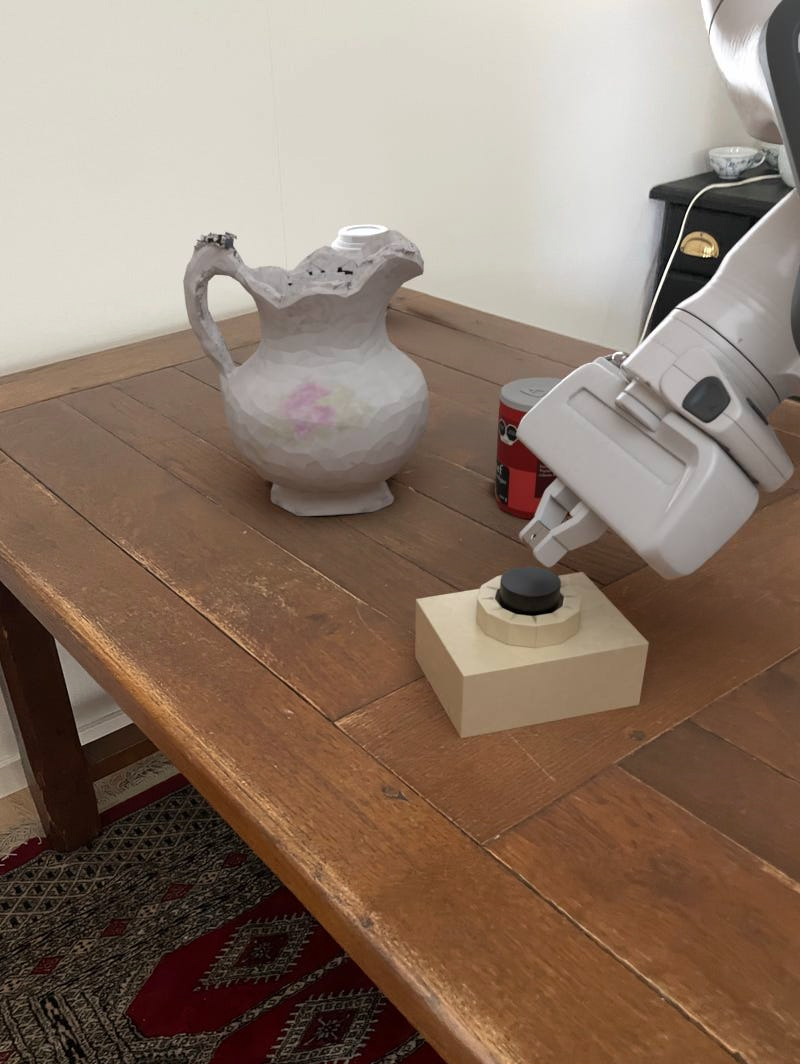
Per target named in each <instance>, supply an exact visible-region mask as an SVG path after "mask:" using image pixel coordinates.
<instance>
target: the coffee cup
mask: <svg viewBox="0 0 800 1064" xmlns="http://www.w3.org/2000/svg"><path fill="white" fill-rule="evenodd" d="M388 230H389V229H388V228H387V227H386V226H383V225H379V224H356V225H349V226H345V227H342V228H341V229H339V230H338V237H336V238H335V240H334V241H333V242H332V243H331V247H332V248H333V249H335V250H336V251H338V252H347V253H353V254H356V253H357V252H358V251H359V250H360V249H361V248H362V247H363V246H364V245H365V243H366V242H367V241H368V240H369V239H370V238H371V237H372V236H373V235H375V234H377V233H381V232H385V231H388ZM387 315H388V308H387V309H386V311H385V318H386V317H387Z"/></svg>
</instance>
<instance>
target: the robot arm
mask: <svg viewBox="0 0 800 1064" xmlns="http://www.w3.org/2000/svg"><path fill="white" fill-rule="evenodd" d="M700 5H701V11H702V17H703V23H704V28H705V31H706V32H705V33H706V37H707V42H708V45H709V49H710V53H711V57H712V59H713V60H712V61H713V63H714V67H715V70H716V73H717V75H718V79H719V81H720V84H721V86H722V88H723V91H724V93H725V96H726V98H727V100H728V102H729V104H730V106H731V108H732V110H733V111H734V113H735V115H736V117H737V119H738V120H739V123H740V124H741V126H742V128H743V129H744V130H745V132H746V134H747V135H748V136H749V137H751V138H754V139H755V140H758V141H761V142H763V143H767V144H773V145H781V146H783V147H784V150H785V155H786V157H787V161H788V164H789V169H790V172H791V176H792V178H793V182H794V186H795V187H794V188H793V189H792V190H791V191H790V192H788V193H787V194H786V195H785V196H783V197H782V198H781V199H780V200H779V201H778V202H777V203H776V204H775V205H773V207H771V209H769V210H768V212H766V213H765V214H764V215H763V216H762V217H760V219H759V220H758V221H757V222H756V223H755V224H753V226H752V227H751V228H750V229H749V230H748V231H747V232H745V234H744V235H743V236H742V237H741V238H740V239H739V240H738V241H737V242H736V243H735V244H734V245H733V246H732V247H731V249H730V250H729V251H728V252H727V253H726V254H725V256H724V257H723V259H722V261H721V263H720V264H719V266H718V268H717V269H716V271H715V273H714V274H713V276H712V277H711V279H710V280H709V281H708V282H706V284H705V285H704V286H703V287H701V288H700V289H699V290H698V291H697V292H695V293H694V294H692V295H691V296H689V297H687V298H686V299H684V300H683V301H680V302H679V303H678V304H677V305H676V306H675V307H674V308H673V309H672V310H671V311H670V312H669V314H667V315H666V316H665V318H664V319H663V320H661V322H660V323H659V324H658V325H657V326H656V327H655V328H654V329H653V330H652V331H651V332H650V333H649V334H648V335H647V336H646V337H645V339H644V340H643V341H642V342H641V343H640V344H639V345H638V346H637V347H636V348H635V349H634V350H633V351H632V352H631V353H630V354H628V353H627V352H625V351H621V350H619V351H616V352H614V353H613V354H608V355H605V356H598V357H597V358H595V359H594V360H593V361H592V362H587V363H584V364H582V365H581V366H579V367H577V368H575V370H573V371H571V373H569V374H568V375H567V376H566V377H565V378H562V379H563V380H562V381H561V382H560V383H559V384H558V385H556V386H555V387H554V388H553V389H552V390H551V391H550V392H549V393H548V394H547V395H545V396H544V397H543V398H542V399H541V400H540V401H539V402H538V403H537V404H536V405H535V406H534V407H533V408H532V409H531V410H530V411H529V412H528V413H527V414H526V415H525V416H524V417H523V418H522V420H521V422H520V424H519V427H518V429H517V432H516V437H517V438H518V439H519V440H520V441H521V442H522V443H523V444H524V445H525V446H526V447H527V448H528V449H529V450H530V451H531V452H532V453H533V454H534V455H535V456H536V457H537V458H538V459H539V460H540V461H541V462H543V463H544V464H545V465H546V466H547V467H548V468H549V469H550V470H551V471H552V472H553V473H554V474H555V475H556V476H557V478H556V479H555V480H554V481H553V482H552V483H551V484H550V485H549V486H548V488H547V489H546V490H545V492H544V494H543V496H542V499H541V501H540V503H539V506H538V508H537V511H536V513H535V515H534V516H535V517H534V518H533V519H530V521H529V522H528V523H527V524H526V525H525V526H524V527H523V528H522V529H521V530H520V532H519V533H518V539H519V541H520V542H521V543H522V545H524V546H525V547H526V548H527V549H528V551H529V552H530V553H531V554H532V556H533V557H534V558H535V559H536V560H537V561H538V562H540V564H542V565H543V566H544V567H545V568H552V567H553V566H555V565H556V564H557V563H558V562H559V561H560V560H561V559H562V558H563V557H564V556H565V555H566V554H567V553H568V552H571V551H573V550H576V549H579V548H581V547H584V546H586V545H588V544H591V543H593V542H596V541H597V540H599V539H600V538H601V537H602V536H603V535H604V534H605V533H606V531H608V530H609V529H611V530H612V531H613V532H614V533H615V534H616V535H617V536H619V537H620V539H622V540H623V541H624V542H625V543H626V545H627V546H629V547H630V548H631V549H632V550H633V551H634V552H635V553H636V554H637V555H638V556H640V558H641V559H642V560H643V561H644V562H646V563H647V565H648V566H650V567H651V568H652V569H653V570H654V572H656V573H657V574H658V575H660V576H661V577H662V578H663V579H664V580H666V581H674V580H677V579H680V578H684V577H686V576H689V575H691V574H693V573H695V572H696V571H697V570H698V569H700V568H701V567H702V566H703V565H704V564H705V563H706V562H707V561H709V560H710V559H711V558H712V557H713V556H714V555H715V554H716V553H717V552H718V551H719V550H721V548H722V547H723V546H724V545H725V544H726V543H728V541H729V540H730V539H731V538H732V537H733V536H734V535H735V534H736V533H737V532H738V531H739V530H740V529H741V528H742V527H743V526H744V525H745V523H747V521H748V520H749V519H750V518H751V516H752V515H753V514H754V512H755V510H756V509H757V506H758V504H759V500H760V492H759V491H761V492H762V493H763V492H764V493H769V494H770V493H773V492H775V491H777V490H779V489H780V488H781V487H783V486H784V485H785V484H786V483H787V482H788V481H789V480H790V479H791V478H792V477H793V475H794V473H795V467H794V463H793V461H792V460H791V458H790V456H789V455H788V454H787V452H786V449H785V448H784V447H783V444H782V443H781V441H780V439H779V438H778V436H777V435H776V431H774V429H773V427H772V425H771V423H770V422H769V420H768V419H767V418H768V417H769V416H770V415H771V414H772V413H773V412H774V411H775V410H776V409H777V408H778V407H779V406H780V405H781V404H782V403H783V402H784V401H785V400H786V399H788V398H790V397H798V398H800V0H700ZM568 511H569V512H570V514H569V515H570V516H571V518H569V519H567V520H566V521H565V518H566V517H567V516H568V515H567V513H568Z"/></svg>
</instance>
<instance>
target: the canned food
mask: <svg viewBox="0 0 800 1064" xmlns="http://www.w3.org/2000/svg"><path fill="white" fill-rule="evenodd" d="M563 379H564V378H556V377H545V376H544V377H543V376H542V377H541V376H540V377H537V376H536V377H527V378H526V377H525V378H520V379H516V380H512V381H510V382H508V383H506V384H504V385H503V386H502V388H501V389H500V394H499V406H498V422H497V441H496V461H495V480H494V481H495V483H494V497H495V499H496V503H497V505H498V506H499V508H500V509H501V510H503V511H504V512H505V513H507V514H509V515H512V516H514V517H517V518H520V519H527V520H532V519H533V518H534V517H535V516H534V515H535V513H536V511H537V508H538V506H539V503H540V501H541V499H542V496H543V494H544V492H545V490H546V489H547V488H548V486H549V485H550V484H551V483H552V482H553V481H554V480H555V479H556V478H557V476H556V475H555V474H554V473H553V472H552V471H551V470H550V469H549V468H548V467H547V466H546V465H545V464H544V463H543V462H541V461H540V460H539V459H538V458H537V457H536V456H535V455H534V454H533V453H532V452H531V451H530V450H529V449H528V448H527V447H526V446H525V445H524V444H523V443H522V442H521V441H520V440H519V439H518V438H517V437H516V432H517V429H518V427H519V424H520V422H521V420H522V418H523V417H524V416H525V415H526V414H527V413H528V412H529V411H530V410H531V409H532V408H533V407H534V406H535V405H536V404H537V403H538V402H539V401H540V400H541V399H542V398H543V397H544V396H545V395H547V394H548V393H549V392H550V391H551V390H552V389H553V388H554V387H555V386H556V385H558V384H559V383H560V382H561V381H562V380H563ZM568 515H570V512H569V511H568V513H567V515H566V516H568Z"/></svg>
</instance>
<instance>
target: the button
mask: <svg viewBox="0 0 800 1064" xmlns="http://www.w3.org/2000/svg"><path fill="white" fill-rule="evenodd" d="M501 575H502V577H501V582H500V598H499V603H500V605H501V607H502V608H503V609H506V610H508V611H510V612H512V613H515V614H519V615H527V616H537V615H543V614H549V613H553V612H554V611H556V610H557V608H558V606H559V598H560V588H561V581H560V578H559V577H558V576H559V575H557V574H556V573H554V572H553V571H552V570H549V569H546V568H544V567H540V566H539V567H538V566H530V565H529V566H518V567H514V568H511V569H508V570H506V571H505V572H504V573H503V574H501Z"/></svg>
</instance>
